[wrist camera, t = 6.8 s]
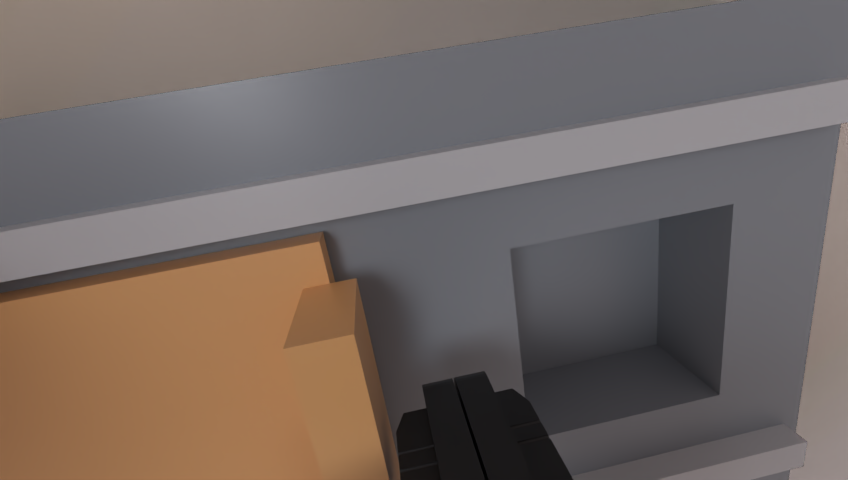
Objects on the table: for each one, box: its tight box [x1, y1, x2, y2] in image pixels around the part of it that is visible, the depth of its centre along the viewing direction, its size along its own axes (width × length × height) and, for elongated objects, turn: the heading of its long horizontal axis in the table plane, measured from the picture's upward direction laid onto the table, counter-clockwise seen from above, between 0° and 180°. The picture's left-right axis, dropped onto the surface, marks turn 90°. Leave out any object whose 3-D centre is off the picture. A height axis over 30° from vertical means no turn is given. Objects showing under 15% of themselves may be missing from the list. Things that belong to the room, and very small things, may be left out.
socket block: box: [0, 0, 848, 480], centre depth 13 cm, size 16×22×5 cm
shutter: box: [0, 231, 400, 480], centre depth 9 cm, size 9×10×3 cm
